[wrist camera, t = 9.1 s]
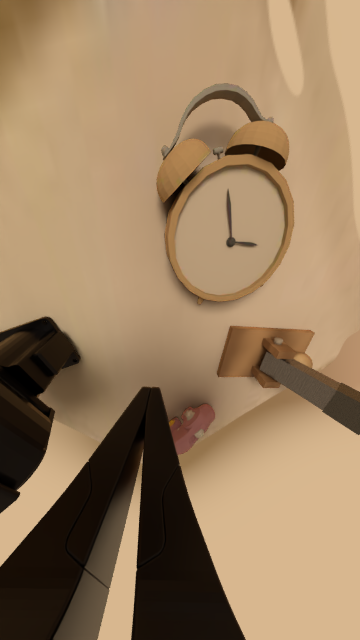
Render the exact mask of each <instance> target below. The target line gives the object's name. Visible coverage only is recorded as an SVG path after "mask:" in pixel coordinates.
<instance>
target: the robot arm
mask: <svg viewBox="0 0 360 640" xmlns="http://www.w3.org/2000/svg"><path fill="white" fill-rule="evenodd" d="M44 320H45V321H47V323H46V322H44ZM75 359H76V360H75ZM80 359H81V358H80V357H79V355H78V354H77V353H76V351H75V350H74V348H73V347H72V345H71V344H70V343H69V342H68V340H67V339H66V338H65V336H64V335H63V334H62V333H61V332H60V330H59V329H58V328H57V326H56V325H55V324H54V322H53V321H52V320H51V319H50V318H49V317H42V318H39V319H36V320H33V321H30V322H28V323H25V324H22V325H19V326H16V327H13V328H10V329H8V330H5V331H2V332H0V513H1V512H3V511H4V510H5V509H6V508H7V507H8V506H10V505H11V504H12V503H13V502H14V501H16V500H17V498H18V497H19V495H20V492H18V491H17V490H18V489H19V488H20V487H21V486H22V485H23V484H24V483H25V482H26V481H27V480H28V479H29V478H30V477H31V475H32V474H33V473H34V471H35V470H36V469H37V468H38V466H39V464H40V463H41V461H42V459H43V457H44V455H45V453H46V450H47V445H48V440H49V436H50V432H51V427H52V423H53V418H54V414H55V411H54V410H53V409H52V408H49V407H48V406H47V405H45V404H44V403H43V402H42V401H41V400H40V399H38V397H39V395H40V394H41V393H43V392H44V391H45V390H46V388H47V387H48V385H49V384H50V383H51V381H52V380H53V378H54V377H55V376H56V375H57V374H58V373H59V371H60V370H61V369H63V368H66V367H69V366H72V365H75V364H77V363H79V361H80ZM142 453H143V466H142V483H141V502H140V517H139V534H138V551H137V571H136V584H135V598H134V613H133V625H132V636H131V637H132V638H131V640H246V639H245V637H244V635H243V633H242V631H241V629H240V626H239V624H238V622H237V620H236V618H235V616H234V613H233V611H232V609H231V607H230V604H229V602H228V600H227V597H226V595H225V592H224V590H223V587H222V585H221V582H220V580H219V578H218V575H217V572H216V570H215V567H214V565H213V562H212V559H211V556H210V553H209V551H208V548H207V545H206V543H205V541H204V537H203V535H202V532H201V529H200V527H199V524H198V521H197V518H196V516H195V513H194V510H193V507H192V504H191V501H190V498H189V496H188V492H187V488H186V485H185V481H184V478H183V474H182V470H181V467H180V466H179V459H178V455H177V452H176V448H175V444H174V440H173V436H172V432H171V429H170V425H169V421H168V417H167V413H166V410H165V406H164V402H163V398H162V394H161V390H160V388H159V387H152V388H151V387H145V386H144V387H142V388H141V389H140V391H139V392H138V393H137V395H136V396H135V398H134V399H133V400H132V402H131V403H130V404H129V406H128V407H127V408H126V410H125V411H124V412H123V414H122V415H121V417H120V418H119V419H118V421H117V422H116V423H115V425H114V426H113V427H112V429H111V430H110V431H109V433H108V434H107V436H106V437H105V438H104V440H103V441H102V442H101V444H100V445H99V446H98V448H97V449H96V451H95V452H94V453H93V455H92V456H91V457H90V459H89V462H87V463H86V464H85V465H84V467H83V468H82V469H81V471H80V472H79V473H78V475H77V476H76V477H75V479H74V480H73V481H72V483H71V484H70V485H69V486H68V488H67V489H66V490H65V492H64V493H63V494H62V495H61V496H60V498H59V499H58V500H57V501H56V502H55V504H54V505H53V506H52V507H51V508H50V510H49V511H48V512H47V513H46V514H45V516H44V517H43V518H42V519H41V520H40V521H39V522H38V524H37V525H36V526H35V527H34V529H33V530H32V531H31V532H30V533H29V534H28V535H27V537H26V538H25V539H24V540H23V541H22V542H21V544H20V545H19V546H18V547H17V548H16V549H15V550H14V552H13V553H12V554H11V555H10V556H9V558H8V559H7V560H6V561H5V562H4V563H3V564H2V566H1V567H0V640H97V639H98V634H99V630H100V626H101V622H102V618H103V614H104V609H105V606H106V602H107V597H108V593H109V588H110V585H111V581H112V577H113V572H114V568H115V564H116V560H117V556H118V552H119V547H120V544H121V539H122V535H123V531H124V527H125V523H126V519H127V514H128V510H129V506H130V502H131V498H132V494H133V490H134V486H135V481H136V477H137V473H138V469H139V465H140V461H141V457H142Z"/></svg>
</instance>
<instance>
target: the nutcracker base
mask: <svg viewBox="0 0 360 640" xmlns="http://www.w3.org/2000/svg"><path fill="white" fill-rule="evenodd" d="M314 334H315V333H314V332H312V331H311V330H296V329H278V328H259V327H240V326H230V329H229V332H228V336H227V339H226V343H225V346H224V350H223V353H222V357H221V360H220V364H219V367H218V371H217V374H218V377H255V378H256V379H257V380H258V382H259V383H260V385H261V386H262V387H263V388H279V386H280V384H281V383H280V382H278V381H276V380H275V379H273V378H272V377H270V376H269V375H267V374H266V373H264V372H263V371H261V370H259V369H260V366H261V364H262V361H263V359H264V357H265V354H266V352H267V351H269V352H270V353H271V354H272V355H273V356H274V357H275V358H276V359H295V360H297V361H298V362H300V363H302V364H304V365H306V366H308V367H310V368H312V365H313V363H312V360H311V358H310V357H309V356H308V355H307V354H305V351H306V349H307V347H308V345H309V343H310V341H311V339H312V338H313V336H314Z"/></svg>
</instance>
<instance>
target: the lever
mask: <svg viewBox="0 0 360 640" xmlns="http://www.w3.org/2000/svg"><path fill="white" fill-rule="evenodd" d="M259 370H261V371H263V372H264V373H266V374H267V375H269V376H270V377H272V378H273V379H275V380H276V381H278V382H280V383H281V384H283V385H284V386H286V387H287V388H289V389H290V390H292V391H294V392H295V393H297V394H298V395H300V396H301V397H303V398H304V399H306V400H308V401H309V402H311V403H312V404H314V405H315V406H317V407H318V408H320V409H321V410H323V411H322V412H324V413H325V414H327V415H329V416H330V417H331V418H333V419H334V420H336V421H338V422H339V423H341V424H342V425H344V426H345V427H347V428H349V429H350V430H351V431H353V432H354V433H356V434H358V435H359V434H360V392H359V391H357V390H355V389H353V388H351V387H349V386H347V385H345V384H343V383H339V382H336V381H335V380H333V379H331V378H329V377H327V376H325V375H323V374H321V373H319V372H318V371H316V370H314V369H312V368H310V367H308V366H306V365H304V364H302V363H300V362H298V361H297V360H295V359H276V358H275V357H274V356H273V355H272V354H271V353H270V352H269V351H267V352H266V354H265V357H264V359H263V361H262V364H261V366H260V369H259Z"/></svg>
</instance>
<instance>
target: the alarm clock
mask: <svg viewBox="0 0 360 640" xmlns="http://www.w3.org/2000/svg"><path fill="white" fill-rule="evenodd" d="M211 99H226V100H231V101H233V102H235V103H236V104H238V105H239V106H240V107H241V108H242V109H243V110H244V111H245V112H246V114H247V116H248V117H249V119H250V121H251V123H247V124H246V125H244V126H243V127H241V128H240V129H239V130H237V131H236V132H235V134H234V135H233V137H232V138H231V140H230V142H229V144H228V146H227V148H226V151H225V157H223V158H221V159H220V153H223V146H221V147H218V148H214V149H213V154H214V155H216V154H217V156H218V160H217V161H215V162H213V163H211V164H209V165H207V166H205V167H203V168H202V169H201V170H200V171H199V172H198V173H197V175H196V176H194V177H193V178H192V179H191V180H190V181H188V180H187V177H188V176H189V175H190V174H191V173H192V172H193V171H194V170H195V169H196V168H197V167H198V166H199V164H200V163H201V162H202V161H203V160H204V159H205V158H206V157H207V156H208V155H209V154H210V152H211V151H210V149H209V148H208V146H207V145H206V144H205V143H204V142H202V141H201V140H198V139H188V140H185V141H183V142H181V143H180V144H178V145H177V146H176V147H175V148H174V146H175V144H176V142H177V140H178V138H179V135H180V132H181V129H182V127H183V124H184V122H185V120H186V119H187V118H188V116H189V115H190V113H191V112H192V111H193V110H194V109H196V108H197V107H198V106H200V105H201V104H203V103H205V102H207V101H209V100H211ZM173 148H174V149H173ZM172 149H173V150H172ZM161 151H162V155H163V156H164V158H163V160H164V161H163V163H162V165H161V167H160V170H159V172H158V176H157V191H158V194H159V197H160V199H161V200H162V202H163V203H164V202H165V201H166V200H167V199H168V198H169V197H170V196H171V195H172V193H173V192H174V191H175V190H176V189H177V188H178V187H179V186H180V184H181V183H182V182H183V183H184V184H185V186H184V187H183V189H182V190H181V191H180V192H179V193H178V194H177V196H176V198H175V201H174V203H173V205H172V207H171V209H170V211H169V213H168V217H167V223H166V229H165V243H166V252H167V256H168V258H169V260H170V263H171V265H172V267H173V270H174V271H175V273H176V275H177V277H178V279H179V280H180V281H181V282H182V283H183V284H184V285H185V286H186V288H187V289H188V290H189V291H190V292H192V293H194V294H196V295H198V296H199V298H198V302H197V303H198V304H201V303H202V301H203V300H204V299H207V300H213V301H219V302H221V301H228V300H235V299H238V298H240V297H243V296H245V295H247V294H249V293H252V292H253V291H254V290H256V289H257V288H258V287H261V286H263V283H265V282H266V281H267V280H268V279H269V278H270V276H271V275H272V274H273V273H274V271H275V270H276V269H277V268H278V266H279V265H280V263H281V261H282V259H283V257H284V255H285V253H286V251H287V249H288V247H289V244H290V240H291V236H292V231H293V227H294V201H293V198H292V195H291V193H290V190H289V187H288V184H287V181H286V179H285V178H284V177H283V176H282V175H281V173H280V172H279V170H281V169H283V168H284V166H285V165H286V162H287V159H288V155H289V141H288V137H287V135H286V133H285V132H284V130H283V129H282V128H281V127H279V126H278V125H276V124H274V123H273V117H269V118H268V119H267V120H266V119H265V118H264V117H263V116H262V115H261V113H260V111H259V109H258V107H257V105H256V104H255V102H254V100H253V99H252V97H251V96H250V95H249V94H248V93H247V92H246V91H245V90H244V89H242V88H241V87H239V86H237V85H232V84H228V83H224V84H215V85H213V86H210V87H208V88H206V89H204V90H203V91H202V92H200V93H199V94H198V95H197V96H195V97H194V98H193V100H192V101H191V102H190V104H189V105H188V106H187V108H186V110H185V112H184V114H183V116H182V118H181V121H180V124H179V128H178V131H177V133H176V136H175V138H174V140H173V142H172V144H171V147H170V148H168V147H167V146H165V145H164V146H163V148H162V149H161Z"/></svg>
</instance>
